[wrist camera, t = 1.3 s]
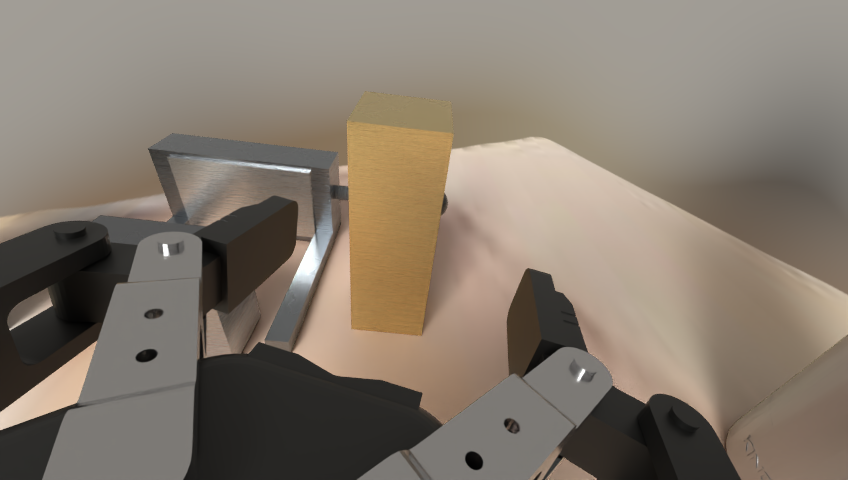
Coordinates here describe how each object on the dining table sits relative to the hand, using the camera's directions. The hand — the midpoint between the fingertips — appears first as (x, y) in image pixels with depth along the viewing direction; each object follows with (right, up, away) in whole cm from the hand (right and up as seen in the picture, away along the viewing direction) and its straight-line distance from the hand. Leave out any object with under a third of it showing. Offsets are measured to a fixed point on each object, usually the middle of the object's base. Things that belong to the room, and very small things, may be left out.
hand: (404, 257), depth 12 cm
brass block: (-2, -4, +16) cm, 16 cm away
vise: (-10, -2, +17) cm, 20 cm away
